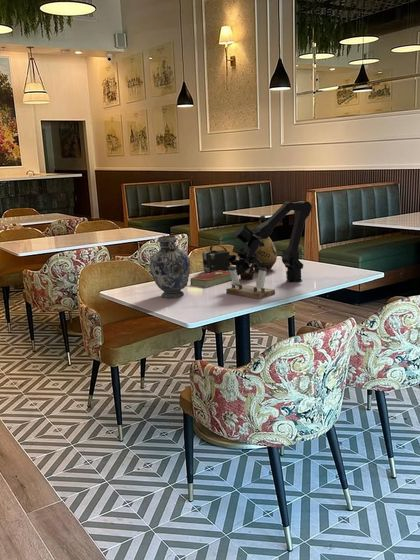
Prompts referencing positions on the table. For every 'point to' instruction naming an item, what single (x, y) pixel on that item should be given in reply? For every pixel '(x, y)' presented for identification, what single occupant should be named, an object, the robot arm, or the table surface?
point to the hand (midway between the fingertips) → (235, 276)
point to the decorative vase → (170, 267)
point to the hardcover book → (211, 278)
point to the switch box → (250, 291)
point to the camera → (215, 260)
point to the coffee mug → (248, 273)
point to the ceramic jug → (266, 251)
